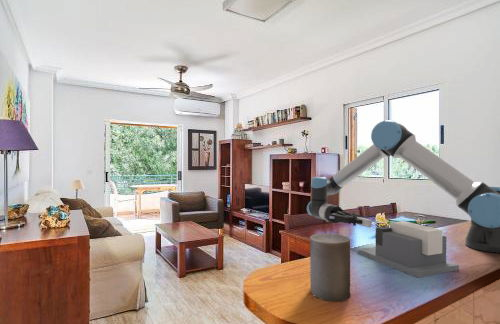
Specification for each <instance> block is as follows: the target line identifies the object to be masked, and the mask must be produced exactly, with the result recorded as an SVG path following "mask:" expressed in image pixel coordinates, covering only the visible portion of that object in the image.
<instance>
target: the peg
mask: <svg viewBox="0 0 500 324" xmlns="http://www.w3.org/2000/svg"><path fill="white" fill-rule="evenodd" d="M414 223H415V222H409V221H405V220H401V221H400V220H399V221H390V222H389V228H392V232H396V233H399V234H403V235H407V236H410V237H414V238H418V239H421V240H422V254H425V255H434V254H441V253H442V236H443V229H441V228H436V227H433V226H432V227H431V226H428V225H427V226H425V225H424V226H423V224H421V225H419V224H420V223H418V224H417V223H415V224H414Z"/></svg>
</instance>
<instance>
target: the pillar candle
mask: <svg viewBox="0 0 500 324" xmlns="http://www.w3.org/2000/svg"><path fill="white" fill-rule="evenodd" d="M309 239H310V240H309V243H310V245H309V246H310V248H309V249H310V252H309V253H310V257H309V259H310V260H309V263H310V275H309V276H310V282H309V283H310V293H311V292H312V293H311V294H312V295H313V296H314V295H315V296H316V297H315V296H314V297H315V298H317V297H318V298H317V299H319V298H320V299H319V300H322V299H323V301H327V302H340V301H346V300H348V299H350V297H351V239H350V238H349V237H348V236H345V235H342V234H338V233H332V232H330V233H317V234H312V235H311V236H309Z"/></svg>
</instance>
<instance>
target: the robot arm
mask: <svg viewBox="0 0 500 324" xmlns="http://www.w3.org/2000/svg"><path fill="white" fill-rule="evenodd" d="M370 135H371V136H370V138H371V142H372V145H371V146H369V147H368V148H367V149H366V150H364V151H363V152H361V153H360V154H359V155H358V156H356V157H355V158H354V159H352V160H351V161H350V162H349V163H347V164H346V165H345V166H343V167H341V169H340V170H338V171H337V172H336V173H334V174H333V175H332V176H331V177H329V178H327V177H325V176H313V177H312V178H311V182H310V201H309V202H308V204H307V205H306V211H307V214H308V215H309V216H311V217H314V218H316V219H320V220H324V221H326V223H329V222H330V223H333V224H338V223H345V224H348V225H351V224H352V226H353V227H355V226H357V225H358V226H362V227H366V228H372V227H373V220H372V219H369V218H366V217H364V216H363V215H361V214H358V213H356V212H351V213H350V212H347V211H346V210H343V208H342V207H340V206H339V205H334V204H330V203H328V196H333V195H336V194H338V193H340V191H341V189H342V188H344V187H345V186H347V185H348V184H349V183H350V182H352V181H354V180H355V179H356V178H357V177H359V176H360V175H362V174H363V173H364V172H366V171H368V170H369V169H370V168H371V167H373V166H375V164H377V163H379V162H380V161H382V159H384V158H389V157H392V158H394V159H401V160H403V161H404V162H406V163H407V164H408V166H410V167H412V168H413V169H415V170H416V171H417V172H419V173H420V174H421V175H423V176H424V177H425V178H426V179H428V180H429V181H431V183H433V184H435V185H436V186H437V187H438V188H440V189H441V190H442V191H444V192H445V193H447V194H448V195H449V196H450V197H452V198H453V199H455V203H456V206H457V207H458V208H459V209H460V210H462V212H465V214H467V215H468V216H469V217H470V227H469V229H468V232H467V234H466V236H465V241H464V242H465V243H464V245H465V246H467V247H468V248H471V249H474V250H479V251H484V252H488V253H495V252H496V253H498V254H500V187H499V186H489V185H488V184H486V183H484V182H483V181H474V180H472V179H470V178H469V177H468V176H467V175H465V174H464V173H462V172H461V171H460V170H458V169H456V168H455V167H454V166H452V165H451V164H449V163H448V162H447V161H445V160H444V159H442V158H441V157H440V156H439V155H436V154H435V153H433V152H432V151H431V150H430V149H428V148H427V147H425V146H424V145H422V144H421V143H420V142H418V141H417V140H416V135H415V134H414V133H412V132H411V131H409V130H408V128H406V126H404V125H403V124H401V123H399V122H398V123H397V122H396V121H394V120H382V121H380V122H378V123H377V124H375V125H374V126H373V128H372V129H371V134H370Z"/></svg>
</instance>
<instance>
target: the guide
mask: <svg viewBox="0 0 500 324" xmlns="http://www.w3.org/2000/svg"><path fill="white" fill-rule="evenodd" d="M357 254H358V255H361V256H364V257H367V258H369V259H371V260H373V261H377V262H378V263H381V264H384V265H386V266H388V267H391V268H394V269H395V270H398V271H401V272H403V273H405V274H408V275H411V276H413V277H414V278H422V277H423V278H424V277H427V276H432V275H438V274H443V273H450V272H453V271H454V272H455V271H459V267H460V266H459V264H457V263H453V262H451V261H448V260H447V236H445V235H442V253H441V254H434V255H425V254H422V240H421V239H418V238H414V237H410V236H407V235H403V234H399V233H396V232H392V228H390V227H389V226H378V227H375V246H371V247H364V248H363V247H362V248H358V249H357Z"/></svg>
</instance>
